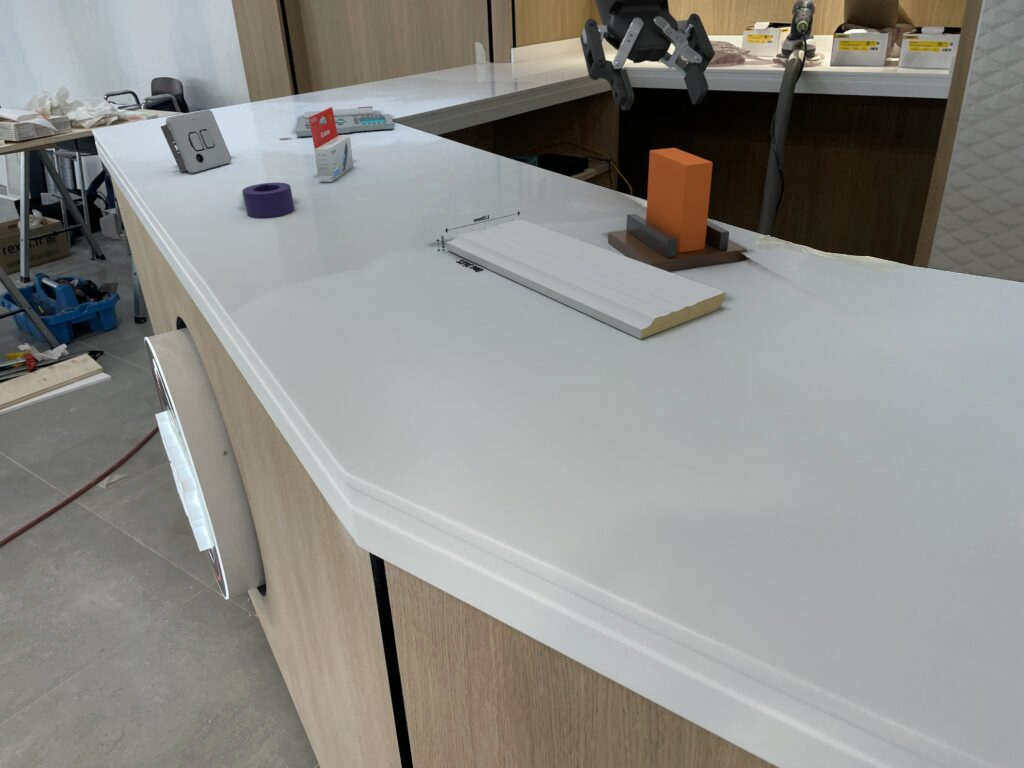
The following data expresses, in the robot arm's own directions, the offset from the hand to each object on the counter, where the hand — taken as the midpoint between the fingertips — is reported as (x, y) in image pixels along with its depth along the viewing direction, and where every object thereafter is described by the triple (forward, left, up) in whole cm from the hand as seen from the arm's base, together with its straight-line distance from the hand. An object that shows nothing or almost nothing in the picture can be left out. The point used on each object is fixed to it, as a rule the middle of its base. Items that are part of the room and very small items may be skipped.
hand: (665, 102), depth 79 cm
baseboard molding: (+15, +9, -15) cm, 23 cm away
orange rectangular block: (+1, +6, -13) cm, 15 cm away
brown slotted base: (+1, +6, -15) cm, 16 cm away
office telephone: (+27, -97, -15) cm, 101 cm away
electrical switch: (+55, -65, -15) cm, 86 cm away
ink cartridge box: (+33, -49, -15) cm, 61 cm away
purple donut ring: (+44, -33, -15) cm, 57 cm away
